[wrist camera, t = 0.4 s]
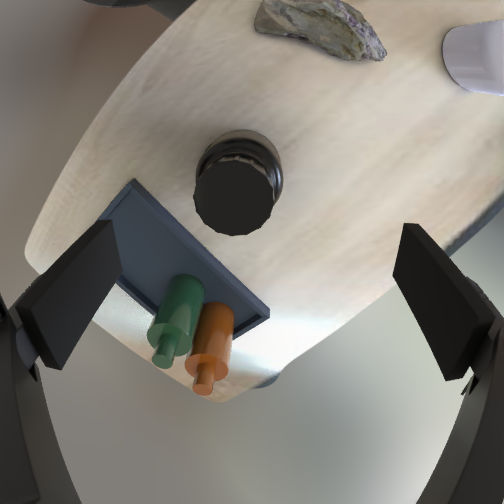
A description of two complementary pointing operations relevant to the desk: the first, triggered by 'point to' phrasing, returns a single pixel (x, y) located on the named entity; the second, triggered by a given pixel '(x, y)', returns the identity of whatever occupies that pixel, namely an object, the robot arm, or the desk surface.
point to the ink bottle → (238, 182)
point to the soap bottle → (476, 56)
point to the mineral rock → (322, 26)
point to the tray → (171, 258)
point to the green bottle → (176, 319)
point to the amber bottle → (211, 347)
